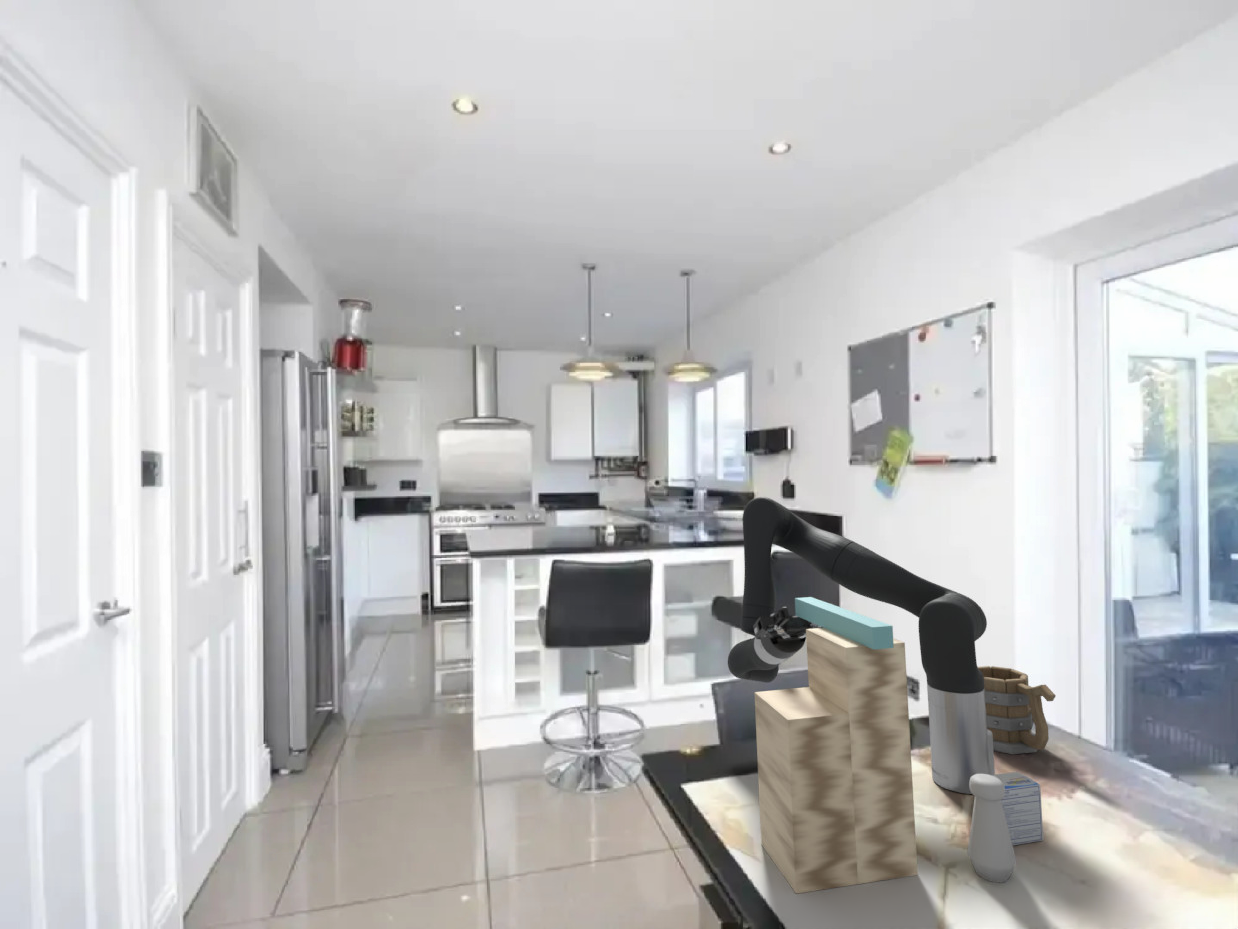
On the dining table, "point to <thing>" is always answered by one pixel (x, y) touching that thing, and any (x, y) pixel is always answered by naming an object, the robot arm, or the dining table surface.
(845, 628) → the teal bar
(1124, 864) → the dining table surface
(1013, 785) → the medicine box
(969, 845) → the salt shaker
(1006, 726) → the tankard
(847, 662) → the block
